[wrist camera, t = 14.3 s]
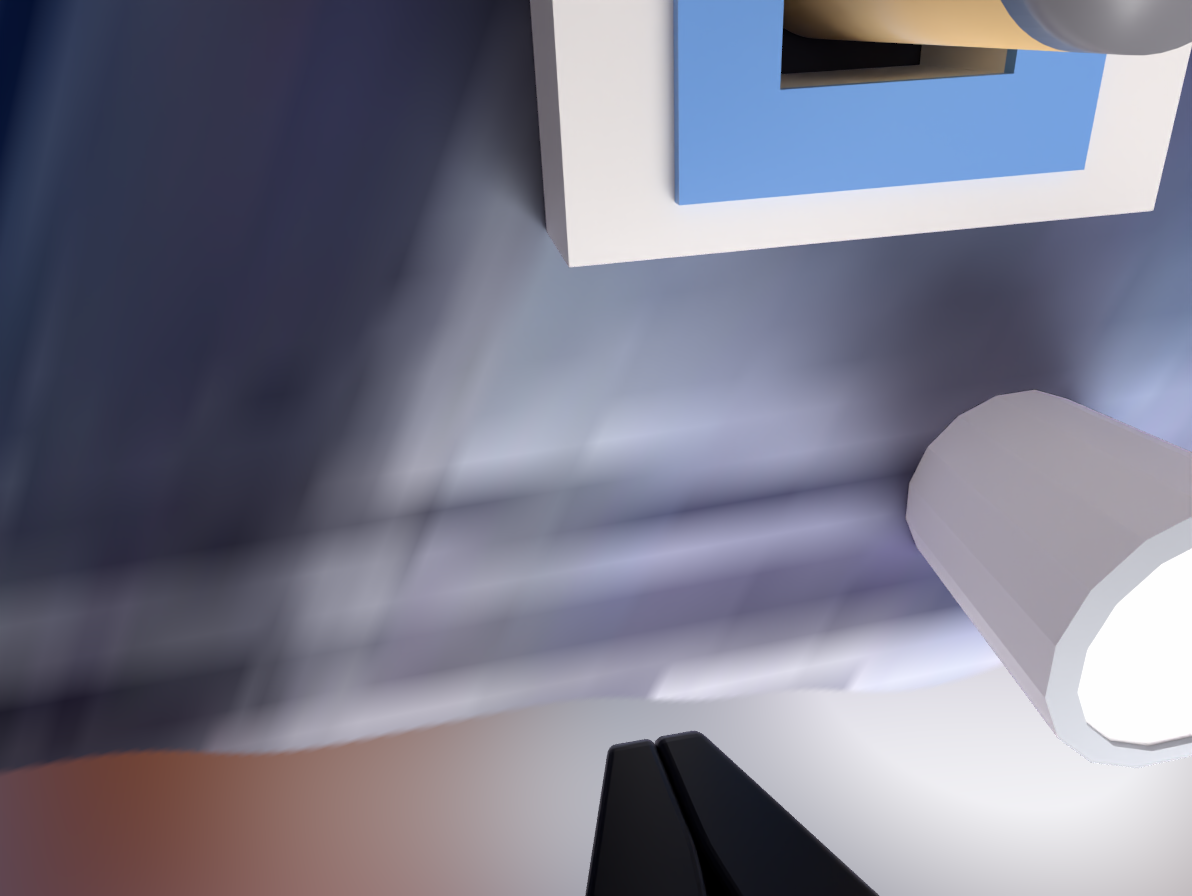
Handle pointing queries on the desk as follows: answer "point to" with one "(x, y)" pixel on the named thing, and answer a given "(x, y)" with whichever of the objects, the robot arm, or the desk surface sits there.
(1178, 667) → the white cylinder
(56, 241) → the desk surface
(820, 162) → the block
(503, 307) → the desk surface
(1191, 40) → the grey-capped tan cylinder
